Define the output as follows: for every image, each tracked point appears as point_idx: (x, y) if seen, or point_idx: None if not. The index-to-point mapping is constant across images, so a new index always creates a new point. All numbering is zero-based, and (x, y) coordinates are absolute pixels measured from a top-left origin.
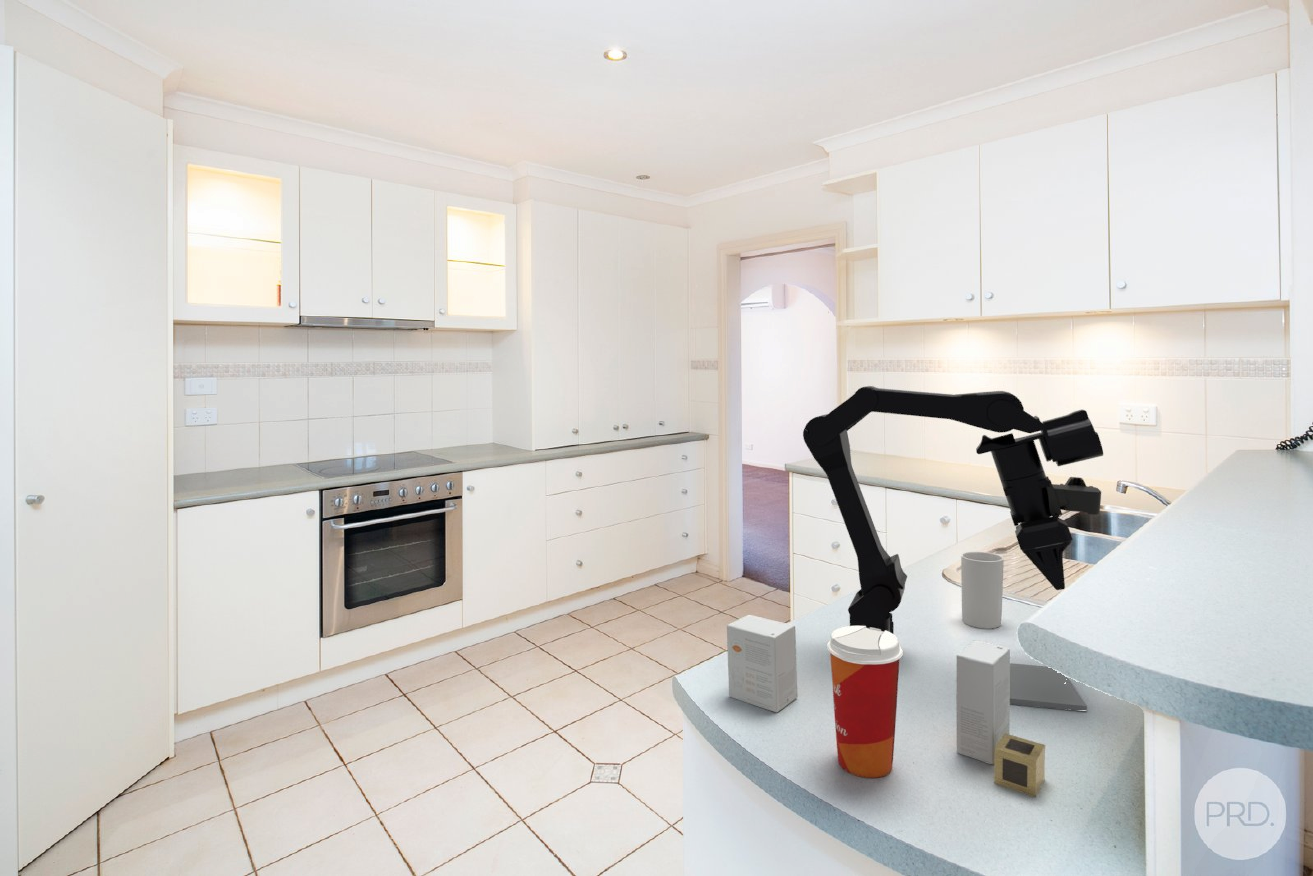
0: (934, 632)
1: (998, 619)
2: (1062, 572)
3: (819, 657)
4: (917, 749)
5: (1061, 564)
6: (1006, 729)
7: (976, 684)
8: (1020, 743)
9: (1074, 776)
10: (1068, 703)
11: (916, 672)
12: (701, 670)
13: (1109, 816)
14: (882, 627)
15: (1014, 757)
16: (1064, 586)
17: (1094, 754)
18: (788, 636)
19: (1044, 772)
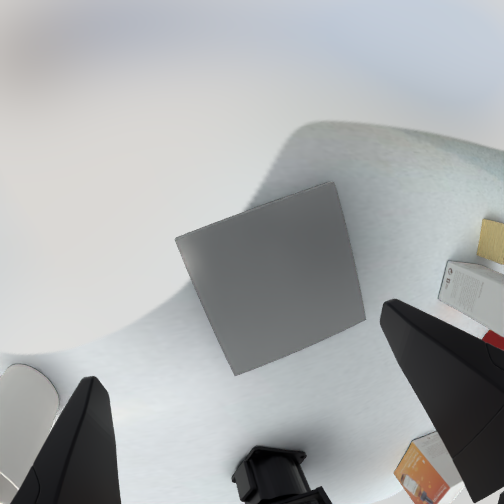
0: (128, 439)
1: (25, 375)
2: (461, 332)
3: (312, 483)
4: (469, 327)
5: (495, 351)
6: (471, 267)
7: None
8: None
9: (472, 193)
10: (339, 209)
11: (305, 412)
12: (379, 499)
13: (501, 167)
14: (296, 485)
15: None
16: (403, 302)
17: (433, 172)
18: (457, 477)
19: (488, 220)
